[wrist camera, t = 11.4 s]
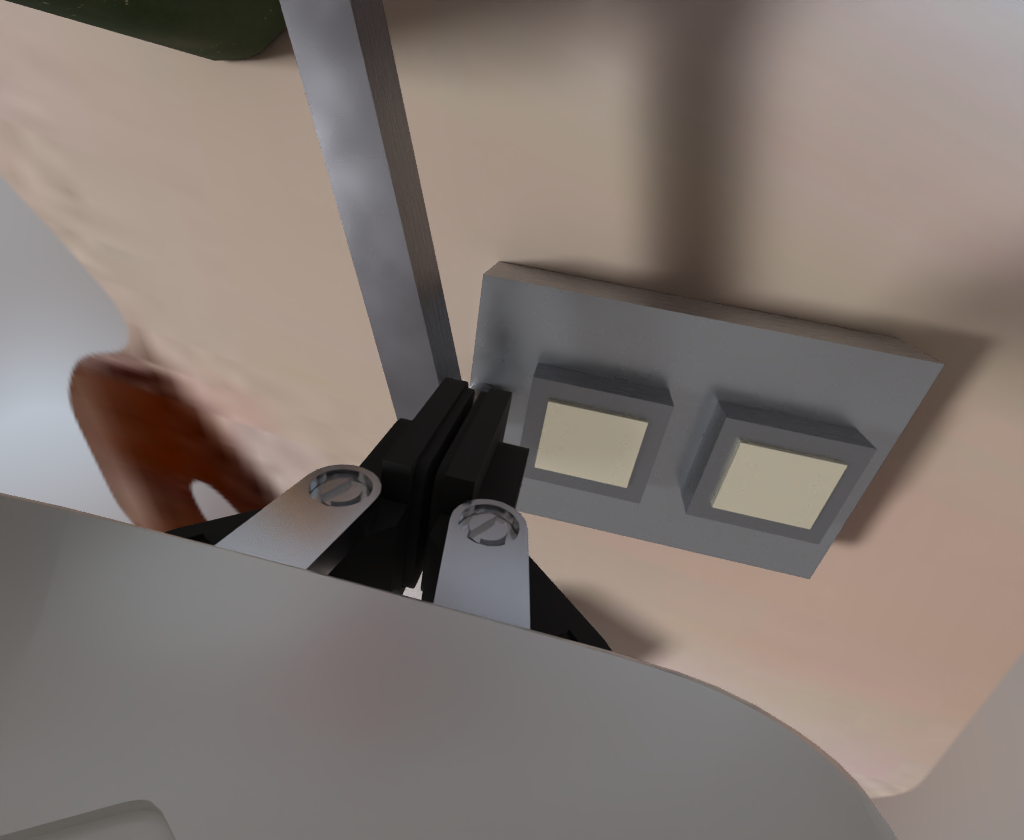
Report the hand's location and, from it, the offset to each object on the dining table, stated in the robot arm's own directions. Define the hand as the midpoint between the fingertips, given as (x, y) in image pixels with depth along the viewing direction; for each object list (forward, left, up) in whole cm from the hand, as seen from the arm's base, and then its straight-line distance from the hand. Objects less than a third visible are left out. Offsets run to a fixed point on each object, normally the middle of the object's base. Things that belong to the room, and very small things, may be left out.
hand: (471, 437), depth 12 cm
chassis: (-8, +6, -18) cm, 20 cm away
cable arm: (+5, -3, -8) cm, 10 cm away
